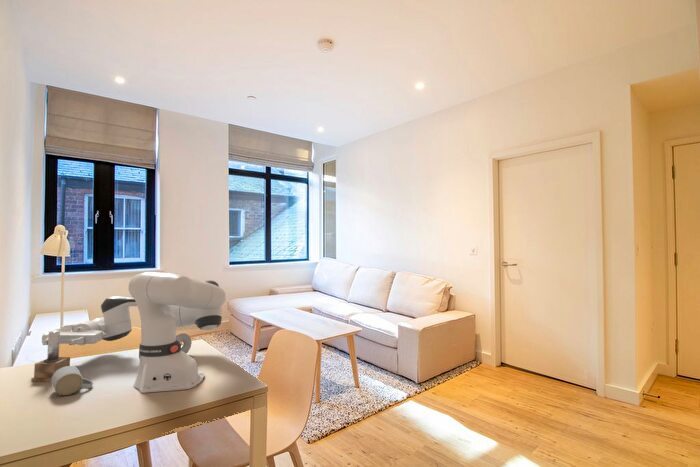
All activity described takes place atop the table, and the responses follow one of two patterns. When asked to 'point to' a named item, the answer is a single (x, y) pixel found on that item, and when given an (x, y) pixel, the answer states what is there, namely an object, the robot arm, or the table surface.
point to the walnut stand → (49, 368)
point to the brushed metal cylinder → (53, 345)
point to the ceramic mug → (69, 381)
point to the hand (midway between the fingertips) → (57, 343)
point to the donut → (184, 342)
